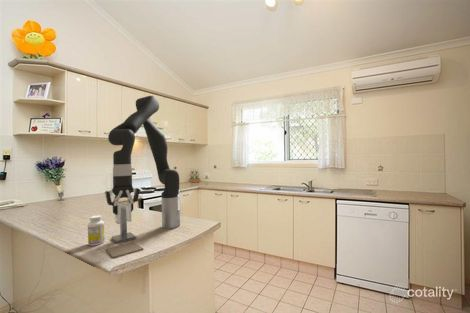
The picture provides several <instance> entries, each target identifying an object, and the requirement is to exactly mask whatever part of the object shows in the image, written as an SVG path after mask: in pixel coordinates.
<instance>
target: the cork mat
mask: <svg viewBox="0 0 470 313" xmlns="http://www.w3.org/2000/svg"><path fill="white" fill-rule="evenodd" d="M140 250H141V251H144V248H143V247H142V246H141V245H140V244H138V243H137V242H136V241H135V240H132V241H128V242H124V243H122V244H121V243H120V244H118V245H114V246H110V247H106V248H105V251H106V252H107V253H108V255H109V256H110V257H111V258H112V259H116V258H119V257H123V256H127V255H130V254H133V253H136V252H139V251H140ZM126 254H127V255H126Z"/></svg>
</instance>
